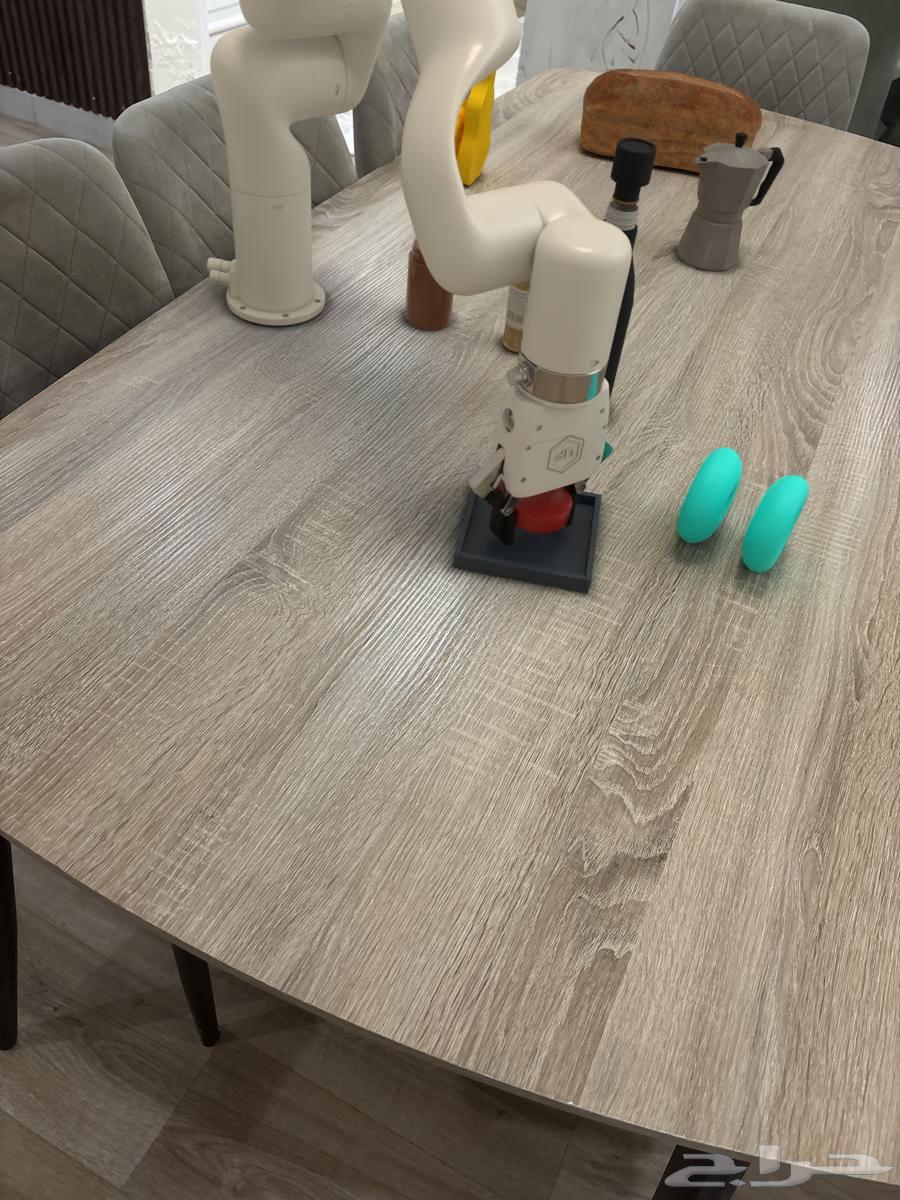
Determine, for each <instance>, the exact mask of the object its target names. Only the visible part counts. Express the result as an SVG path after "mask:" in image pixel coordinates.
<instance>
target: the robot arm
mask: <svg viewBox="0 0 900 1200" xmlns="http://www.w3.org/2000/svg"><path fill="white" fill-rule="evenodd" d="M238 2H239V9H240V11H241V13H242V16H243V18H244V20H245V22H246V23H247V24H248V26H242V27H239V28H235V29H233V30H231V31H228V32H227V33H225V34H224V35H222V36H221V37H220V38H219V39H218V40H217V41H216V42H215V44H214V46H213V48H212V50H211V53H210V60H209V69H210V70H209V71H210V77H211V82H212V87H213V91H214V94H215V99H216V103H217V106H218V112H219V117H220V120H221V126H222V131H223V137H224V143H225V151H226V161H227V173H228V182H229V184H228V185H229V196H230V207H231V220H232V231H233V243H234V257H235V259H234V258H233V259H232V260H231V261H229V260H224V258H223V259H222V258H218V257H217V258H216V257H211V256H209V258H208V259H207V262H206V271H207V272H208V274H209V281H210V282H214V283H223V284H226V285H227V286H228V287H227V290H226V292H225V293H226V294H225V295H226V296H225V297H226V304H227V306H228V308H229V310H230V311H231V312H232V313H233V314H234V315H236V316H237V317H239V318H240V319H243V320H245V321H248V322H251V323H253V324H258V325H263V326H272V327H273V326H274V327H278V326H280V327H281V326H283V327H284V326H291V325H292V326H293V325H297V324H303V323H305V322H308V321H309V320H311V319H314V318H315V317H317V316H318V315H319V314H320V313H321V312H322V311H323V310H324V308H325V305H326V292H325V290H324V288H323V287H322V286H321V284H319V283H318V282H317V281H315V280H314V271H313V270H314V268H313V266H314V265H313V225H312V222H313V221H312V220H313V219H312V179H311V175H312V174H311V166H310V165H311V164H310V160H309V157H308V155H307V153H306V150H305V149H304V148H303V146H302V145H301V144H300V143H299V141H298V140H297V139H296V138H295V136H294V135H293V133H292V132H291V130H290V126H291V125H292V124H295V123H298V122H302V121H305V120H311V119H317V118H324V117H332V116H337V115H341V114H345V113H348V112H349V111H352V110H354V109H355V108H356V107H358V105H359V104H360V103H361V102H362V100H363V98H364V96H365V95H366V91H367V89H368V87H369V83H370V80H371V77H372V74H373V71H374V68H375V64H376V61H377V59H378V55H379V52H380V49H381V46H382V42H383V39H384V36H385V33H386V30H387V27H388V23H389V19H390V16H391V13H392V7H393V0H238ZM400 4H401V6H402V11H403V13H404V18H405V20H406V21H405V22H406V24H407V27H408V31H409V35H410V38H411V41H412V45H413V48H414V51H415V55H416V58H417V63H418V69H419V73H418V79H417V84H416V86H415V89H414V92H413V94H412V96H411V98H410V99H411V100H410V102H409V106H408V108H407V112H406V115H405V119H404V125H403V130H402V138H401V148H400V180H401V188H402V193H403V197H404V201H405V204H406V208H407V211H408V215H409V218H410V221H411V225H412V228H413V232H414V235H415V239H416V238H417V241H418V245H419V248H420V250H421V253H422V255H423V258H424V260H425V263H426V265H427V267H428V269H429V271H430V272H431V274H432V276H433V278H434V279H435V280H436V281H437V283H438V284H439V285H440V286H441V287H442V288H443V289H445V290H447V291H448V292H450V293H452V294H454V295H455V296H460V297H461V296H462V297H470V296H475V295H480V294H486V293H488V292H492V291H495V290H499V289H502V288H505V287H510V285H513V284H517V283H520V282H529V281H531V282H530V288H529V295H528V301H527V308H526V314H525V321H524V327H523V334H522V340H521V347H520V353H518V359H517V366H516V365H515V366H514V368H511V369H508V370H507V372H506V379H507V382H508V386H507V389H506V391H505V394H504V397H503V400H502V403H501V406H500V409H499V413H498V416H497V420H496V423H495V428H494V431H493V432H494V433H493V438H492V442H491V448H490V455H489V459H488V460H487V461H485V463H483V465H482V466H481V467H480V468H479V469H478V470H477V471H476V472H475V473H474V474H473V476H472V477H471V478H470V479H469V480H468V481H467V486H468V487H469V488H470V489H471V491H472V490H473V492H474V493H475V494H477V495H478V496H479V497H481V498H482V499H483V500H485V501H487V502H488V504H490V505H491V506H492V513H491V519H490V529H491V531H492V533H493V534H494V535H495V536H497V537H498V538H499V539H500V540H501V541H502V543H503V544H504V545H505V546H508V545H511V544H512V543H513V539H514V533H515V527H516V522H517V513H515V512H514V511H513V510H514V509H515V507H516V505H517V503H518V502H519V500H520V498H525V497H530V496H533V495H537V494H540V493H544V492H547V491H550V490H554V489H557V488H560V487H565V488H566V489H567V490H568V492H569V493H570V495H571V497H572V507H571V511H570V514H569V518H568V521H567V524H566V525H565V526H566V527H567V526H570V525H571V524H572V521H573V516H574V512H575V508H576V503H577V499H578V493H582V492H583V491H585V490H587V482H588V481H589V480H590V479H591V478H592V477H593V476H595V475H596V474H597V473H598V471H599V469H600V467H601V465H602V464H603V463H604V462H605V460H606V459H607V458H609V456H610V455H611V454H612V453H613V451H614V448H613V446H611V444H610V443H609V442H607V435H608V427H609V420H610V402H609V384H608V382H607V380H606V379H605V378H604V377H605V373H606V368H607V364H608V359H609V355H610V351H611V346H612V342H613V338H614V333H615V329H616V325H617V320H618V316H619V312H620V307H621V303H622V299H623V294H624V290H625V286H626V282H627V277H628V273H629V269H630V263H631V257H632V249H631V244H630V241H629V239H628V237H627V236H626V235H625V234H624V233H623V232H622V231H621V230H620V229H619V228H617V227H616V226H614V225H612V224H610V223H608V222H605V221H603V220H601V219H598V218H597V217H596V216H594V214H593V213H592V212H591V211H590V209H588V208H587V206H586V205H585V204H584V203H583V202H582V201H581V199H579V197H578V196H577V195H576V194H575V193H574V192H573V191H572V190H571V189H570V188H568V187H567V186H566V185H564V184H562V183H560V182H559V181H555V180H548V179H546V180H545V179H544V180H536V181H535V180H534V181H531V182H526V183H522V184H517V185H512V186H506V187H505V186H504V187H500V188H495V189H491V190H487V191H481V192H477V193H472V194H468V195H467V194H466V190H465V187H464V184H462V180H461V177H460V173H459V169H458V165H457V160H456V154H455V128H456V122H457V118H458V114H459V111H460V108H461V106H462V103H463V101H464V99H465V98H467V96H468V95H469V94H470V92H471V89H472V88H473V87H474V86H475V85H477V84H478V83H479V82H481V81H482V80H484V79H485V78H487V77H488V76H490V75H491V74H492V73H494V72H495V71H496V72H497V71H498V70H499V69H501V68H502V67H504V65H505V64H506V63H507V62H508V61H509V60H511V59H512V57H513V56H514V54H515V53H516V52H517V50H518V49H519V47H520V44H521V39H522V29H521V24H520V20H519V17H518V14H517V10H516V7H515V2H514V0H400ZM497 477H498V478H497ZM496 478H497V479H496ZM495 479H496V481H495ZM494 481H495V483H494V485H493V487H492V486H491V484H492V483H493V482H494ZM505 489H507V491H508V492H509V494H508V495H507V497H505V496H504V495H503V493H504V491H505Z"/></svg>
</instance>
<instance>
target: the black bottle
mask: <svg viewBox="0 0 900 1200" xmlns="http://www.w3.org/2000/svg"><path fill="white" fill-rule="evenodd" d="M656 152H657V147H656V146H655V144H653V143H652V142H649V141H647V140H644V139H639V138H623V139H620V140H619V141H618V142H617V146H616V151H615V156H614V157H613V161H612V167H611V170H610V179H611V181H613V182H614V183H615V185H614V186H615V187H614V191H613V194H612V197H611V198H612V200H610V201H609V202H608V205H607V206H606V210H605V211H606V213H605V214H604V219H603V220H602V221H605V222H608V223H610V224H612V225H614V226H616V227H617V228H619V229H620V230H621V231H622V232H623V233H624V234H625V235H626V236H627V237H628V239H629V241H630V244H631V249H632V257H631V263H630V269H629V273H628V277H627V282H626V286H625V290H624V294H623V299H622V303H621V307H620V312H619V316H618V320H617V325H616V329H615V333H614V338H613V342H612V346H611V351H610V355H609V359H608V364H607V368H606V373H605V377H604V378H605V379H606V380H607V382H608V384H609V403H610V402H611V398H612V394H613V390H614V386H615V381H616V378H617V373H618V370H619V369H618V368H619V365H620V361H621V356H622V353H623V348H624V344H625V340H626V336H627V332H628V327H629V324H630V319H631V315H632V311H633V308H634V303H635V302H634V301H635V284H636V274H635V263H634V254H633V252H634V248H635V244H636V239H637V235H638V230H639V227H638V225H637V223H638V220H639V218H638V217H639V216H640V211H639V209H640V207H639V205H638V204H639V202H640V195H641V194H640V193H641V189H642V188H644V187H646V186H648V185H649V184H650V181H651V177H652V174H653V173H652V172H653V170H654V169H653V168H654V166H655V165H654V161H655V156H656Z"/></svg>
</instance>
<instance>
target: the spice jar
mask: <svg viewBox="0 0 900 1200" xmlns="http://www.w3.org/2000/svg"><path fill="white" fill-rule="evenodd" d="M530 282H531V281H529V282H520V283H517V284H513V285H510V286H508V287H509V288H508V294H507V304H506V310H505V318H504V319H505V321H504V322H505V323H504V330H503V335H502V338H501V344H502V346H503V347H504V348H505V349H507V350H509V351H511V352H513V353H518V354H519V353H520V347H521V340H522V334H523V327H524V321H525V314H526V308H527V301H528V295H529V288H530Z"/></svg>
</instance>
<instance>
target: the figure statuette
mask: <svg viewBox="0 0 900 1200" xmlns="http://www.w3.org/2000/svg"><path fill="white" fill-rule="evenodd" d="M496 75H497V71H495V72H494V73H492V74H491V75H490V76H488V77H487V78H485V79H484V80H482V81H481V82H479V83H478V84H477V85H475V86H474V87H473V88H472V89H471V90H470V91H469V94H468V99H467V97H465V99H464V101H463V103H462V106H461V108H460V111H459V114H458V118H457V122H456V128H455V154H456V160H457V165H458V169H459V173H460V177H461V180H462V184H463V185H466V186H471V185H472V184H473V183H474V182H475V181H476V180H477V179H478V178H479V176H480V175H481V174H482V172H483V169H484V165H485V162H486V160H487V158H488V156H489V152H490V149H491V133H492V132H491V131H492V112H493V108H494V103H495V83H496V82H495V81H496Z"/></svg>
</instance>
